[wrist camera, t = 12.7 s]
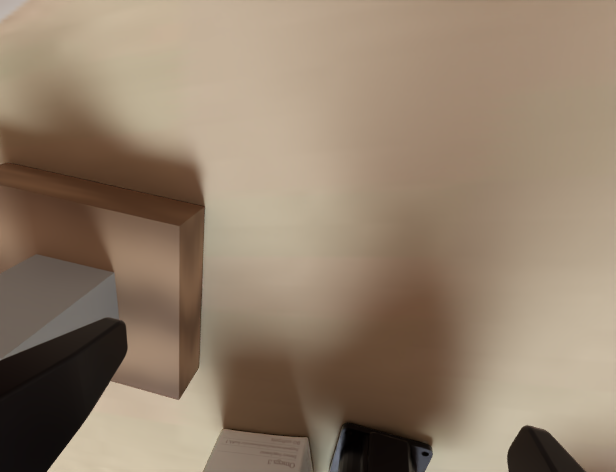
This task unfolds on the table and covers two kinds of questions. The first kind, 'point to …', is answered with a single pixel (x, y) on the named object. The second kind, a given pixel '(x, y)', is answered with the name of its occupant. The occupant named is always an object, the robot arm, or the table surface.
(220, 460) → the supplement box
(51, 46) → the table surface
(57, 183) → the walnut base
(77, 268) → the grey block
